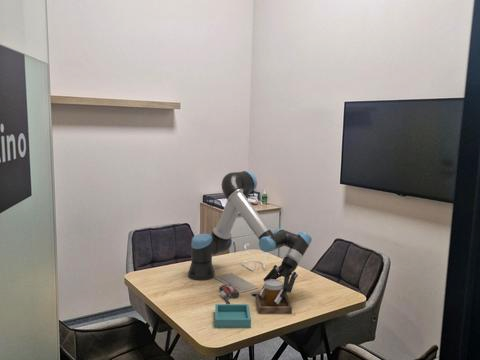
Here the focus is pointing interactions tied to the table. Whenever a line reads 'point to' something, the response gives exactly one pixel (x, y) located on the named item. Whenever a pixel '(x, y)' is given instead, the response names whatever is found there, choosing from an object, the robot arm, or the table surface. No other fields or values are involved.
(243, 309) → the teal tray
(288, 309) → the walnut cup stand
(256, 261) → the earphone
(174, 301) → the table surface
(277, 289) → the disposable coffee cup
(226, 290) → the walkie-talkie
